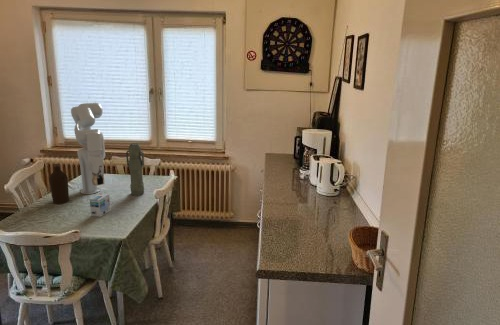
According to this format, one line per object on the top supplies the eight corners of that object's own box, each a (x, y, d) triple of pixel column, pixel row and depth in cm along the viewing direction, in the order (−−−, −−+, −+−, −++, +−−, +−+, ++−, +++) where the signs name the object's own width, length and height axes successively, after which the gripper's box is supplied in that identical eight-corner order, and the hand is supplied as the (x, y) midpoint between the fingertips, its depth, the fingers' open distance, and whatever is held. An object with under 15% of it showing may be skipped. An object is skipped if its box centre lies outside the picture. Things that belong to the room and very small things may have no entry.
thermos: (144, 195, 253) (141, 145, 244) (127, 195, 252) (123, 145, 243) (147, 191, 261) (144, 142, 252) (131, 191, 261) (127, 142, 252)
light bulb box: (101, 217, 216) (99, 199, 214) (90, 216, 218) (88, 198, 215) (111, 210, 226) (109, 193, 224) (101, 209, 228) (99, 192, 225)
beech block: (92, 184, 217) (91, 174, 216) (100, 182, 221) (99, 172, 219) (96, 185, 214) (95, 175, 212) (104, 184, 217) (103, 174, 216)
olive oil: (73, 198, 245) (68, 162, 239) (65, 204, 235) (61, 166, 229) (56, 198, 245) (52, 162, 239) (48, 204, 235) (43, 166, 228)
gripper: (82, 151, 216) (85, 181, 220) (95, 156, 204) (98, 187, 209) (94, 149, 221) (97, 179, 225) (108, 154, 210) (111, 185, 214)
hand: (98, 182), depth 217 cm, fingers closed on beech block, 5 cm apart
